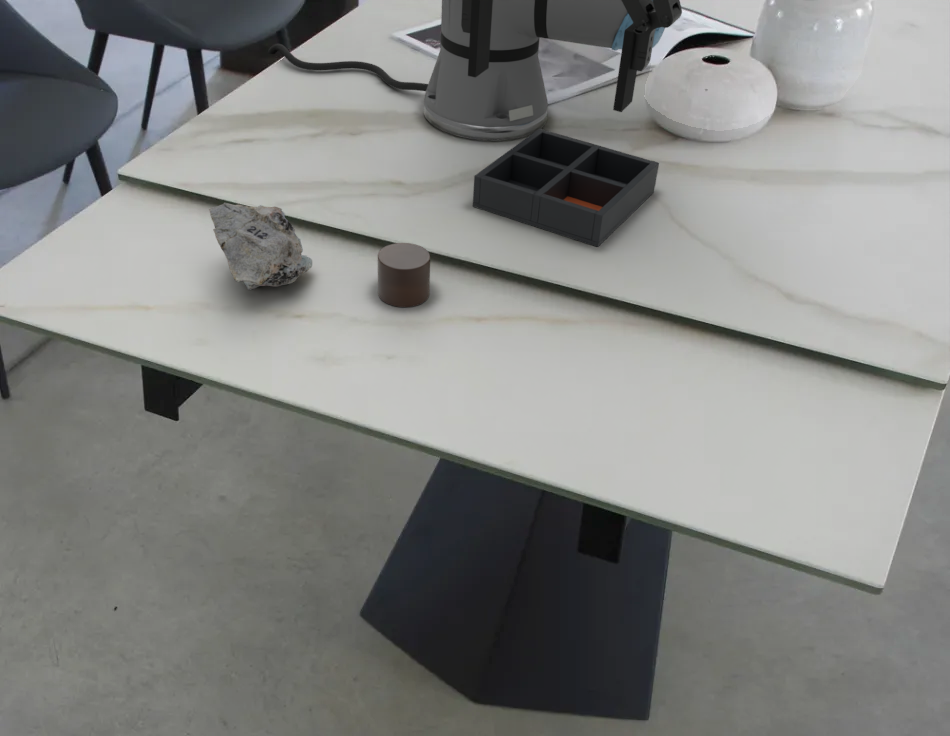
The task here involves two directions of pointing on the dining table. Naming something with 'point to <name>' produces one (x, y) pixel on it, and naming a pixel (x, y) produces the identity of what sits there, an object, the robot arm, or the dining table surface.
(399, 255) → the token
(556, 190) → the grid
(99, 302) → the dining table surface
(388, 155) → the dining table surface
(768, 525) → the dining table surface
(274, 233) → the mineral specimen
